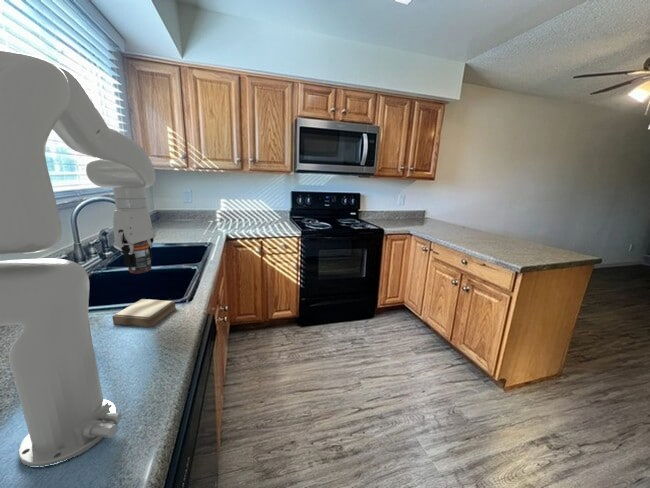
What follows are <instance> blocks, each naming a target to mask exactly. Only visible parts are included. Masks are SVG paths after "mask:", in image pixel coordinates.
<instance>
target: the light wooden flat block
mask: <svg viewBox="0 0 650 488" xmlns="http://www.w3.org/2000/svg"><path fill="white" fill-rule="evenodd" d="M174 309H175V310H176V309H177V308H176V301H173V300H162V299H161V300H160V299H150V298H148V299H146V298H141V299H139V300H138V301H135V302H134V303H132V304H130V305H128V306H127V307H125V308H124V309H122V310H120V311H118V312H117V313H115V314H113V315H112V324H113V325H120V324H123V325H122V326H132V327H134V326H135V327H147V328H151V327H153V326H154V325H156V324H157V323H158V322H160V321H161V320H162V319H164V318H165V317H166V316H169V314H170V312H171V313H172V312H174V311H175V310H174Z"/></svg>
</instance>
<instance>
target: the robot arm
mask: <svg viewBox="0 0 650 488" xmlns="http://www.w3.org/2000/svg"><path fill="white" fill-rule="evenodd" d="M52 130H53V131H54V133H55V134H56V135H57V136H58V137H59V138H60V139H61V141H63V143H64V144H65V145H66V146H67V147H68V148H69V149H71V150H73V151H75V152H77V153H80V154H83V155H86V156H89V157H92V159H91V160H89V161H88V162H87V164H86V168H85V173H86V176H87V178H88V179H89V181H90V182H91V183H92V184H94V185H95V186H98V187H100V188H107V189H109V188H110V189H111V188H112V189H113V196H114V203H115V210H113V216H112V217H113V218H112V219H113V221H112V222H113V223H112V225H113V236H114V241H113V243H112V246H113V247H114V248H115V249H117V251H118V252H120V254H121V255H123V261H124V266H125V268H128V267H136V266H137V265H136V258H135V254H133V249H134V244H136V243H139V242H141V241H147V242H148V245H149V252H150V260H151V261H153V259H154V258H153V253H152V252H153V251H152V248H153V243H154V240H155V237H156V235H157V234H156V232H155V231H154V230H153V224H152V223H153V222H152V220H151V215H150V211H149V208H148V203H147V195H146V189H147V188H150V187H152V186H153V185H154V183H155V182H156V171H155V168H154V165H153V163H152V160H151V159H150V156H149V155H148V153H147V152H146V151H147V150H145V149H144V148H143V147H142V146H141V144H139V143H138V142H136V141H134V140H133V139H131V138H130V137H128V136H126V135H125V134H123V133H122V132H119V130H115V128H112V127H110V126H108V124H107V123H106V121H105V119H104V118H103V116H102V115H101V113H100V111H99V110H98V109H97V106H96V105H95V104H94V102H93V100H92V99H91V97H90V95H89V94H88V93H87V91H86V89H85V88H84V87H83V85H82V83H81V82H80V81H79V79H78V78H77V77H76V76H75V75H74V74H73V73H72V72H70V71H69V70H67V69H66V68H64V67H61V66H59V65H56V64H54V63H52V62H51V61H49V60H48V59H44V58H41V57H38V56H36V55H31V54H26V53H23V52H19V51H18V52H16V51H11V50H4V49H3V50H2V49H0V256H6V255H7V256H9V255H21V254H22V255H23V254H26V255H27V254H34V253H40V252H45V251H48V250H50V249H52V248H54V247H55V246H57V244H59V243H60V241H61V238H62V233H63V229H62V227H63V226H62V221H61V216H60V212H59V208H58V204H57V200H56V195H55V191H54V188H53V185H52V181H51V177H50V172H49V168H48V164H47V163H48V162H47V158H46V150H47V149H46V147H47V146H46V145H47V142H48V139H49V136H50V134H51V132H52ZM127 242H128V243H127ZM127 246H129V249H128V248H127ZM89 300H90V279H89V273H88V271H86V269H85V268H84V267H83V266H82V265H80V263H77V262H75V261H73V260H68V259H63V258H54V257H53V258H50V257H49V258H47V257H46V258H24V259H22V258H21V259H8V260H7V259H6V260H0V326H12V325H13V326H14V325H15V326H17V325H18V326H22V331H21V333H20V334H19V336H17V338H16V340H14V341H13V343H12V345H11V346H10V349H9V352H8V363H9V366H10V370H11V373H12V376H13V379H14V380H13V381H14V383H15V384H14V385H15V388H16V391H17V395H18V399H19V403H20V405H21V406H20V407H21V409H22V414H23V417H24V420H25V423H26V427H27V428H26V429H27V430H28V433H27V434H26V436H25V437H24V438H23V439H22V441H21V443H20V445H19V446H18V447H19V448H18V451H17V452H18V453H17V454H18V459H19V460H21V461H20V462H22V463H23V465H24V464H25V465H27V466H26V467H28V466H39V467H40V466H45V465H50V464H54V463H57V462H60V461H64V460H66V459H70V458H72V457H74V458H76V457H77V455H78V456H80V455H81V454H83V453H85V452H86V451H88V450H90V449H91V448H92V447H94V446H96V445H97V444H98V443H99V442H100V441H101V440H102V439H103V438H105V439H111V438H113V437H114V436H115V435H116V433H117V431H118V430H119V428H118V427H119V426H118V424H115V423H118V422H120V421H121V419H122V416H123V414H122V412H118V411H117V408H116V405H115V404H114V403H113V402H112V401H111V400H107V399H104V396H103V392H102V391H103V389H102V385H101V380H100V376H99V370H98V363H97V359H96V353H95V348H94V343H93V337H92V332H91V326H90V325H91V324H90V318H89V317H90V315H89V307H88V306H89V305H88V302H89ZM75 456H76V457H75ZM72 459H73V458H72ZM70 460H71V459H70ZM22 463H21V464H22ZM25 465H24V466H25Z"/></svg>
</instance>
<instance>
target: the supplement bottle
mask: <svg viewBox="0 0 650 488" xmlns="http://www.w3.org/2000/svg"><path fill="white" fill-rule="evenodd" d="M127 243H128V242H127ZM127 248H128V249H129V246H127ZM133 254H135V258H136V265H137V266H136V267H127V268H128V272H129V273H131V274H145V273H147V272H149V271H151V270H152V260H150V252H149V245H148V242H147V241H141V242H139V243H136V244H134V249H133Z"/></svg>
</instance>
